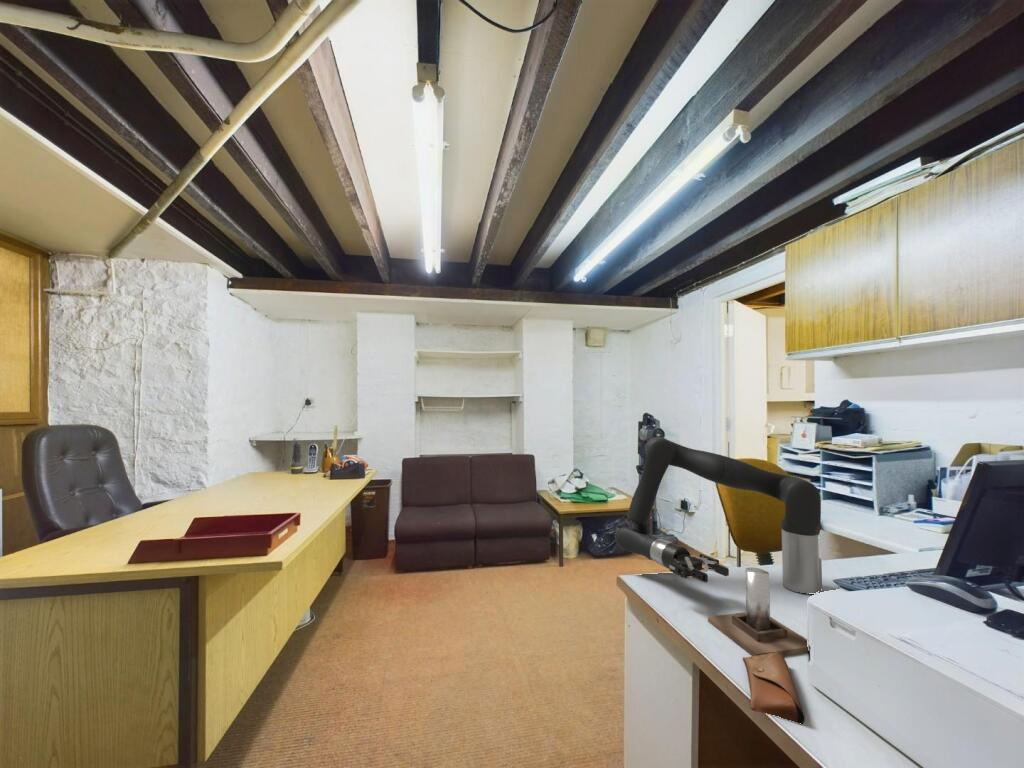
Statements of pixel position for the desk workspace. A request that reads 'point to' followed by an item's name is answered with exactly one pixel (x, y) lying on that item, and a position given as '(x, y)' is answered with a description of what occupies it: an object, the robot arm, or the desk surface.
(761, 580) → the column
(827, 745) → the desk surface
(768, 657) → the sunglasses case
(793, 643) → the lamp base
